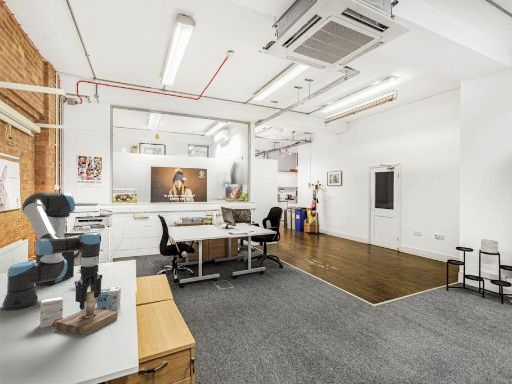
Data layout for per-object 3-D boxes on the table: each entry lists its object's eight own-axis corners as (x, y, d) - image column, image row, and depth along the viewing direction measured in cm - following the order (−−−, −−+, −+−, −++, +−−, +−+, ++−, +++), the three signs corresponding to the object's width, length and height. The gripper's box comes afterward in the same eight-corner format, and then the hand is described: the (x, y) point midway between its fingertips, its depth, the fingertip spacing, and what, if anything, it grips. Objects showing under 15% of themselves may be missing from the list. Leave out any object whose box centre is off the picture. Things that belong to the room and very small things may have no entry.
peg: (80, 321, 129) (81, 292, 130) (88, 318, 134) (89, 289, 134) (87, 323, 128) (88, 293, 128) (95, 319, 132) (96, 290, 132)
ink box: (62, 319, 134) (63, 296, 135) (62, 323, 130) (63, 299, 131) (40, 324, 130) (41, 299, 130) (39, 328, 126) (40, 302, 126)
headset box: (51, 286, 183) (52, 248, 184) (34, 285, 184) (35, 247, 184) (74, 276, 206) (75, 242, 206) (59, 276, 206) (60, 242, 207)
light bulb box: (95, 312, 144) (96, 292, 144) (99, 307, 150) (100, 288, 151) (117, 310, 147) (118, 290, 147) (120, 305, 153) (121, 286, 153)
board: (55, 329, 125) (55, 321, 125) (90, 313, 142) (90, 306, 142) (84, 336, 119) (85, 328, 120) (117, 318, 137) (117, 311, 137)
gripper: (78, 270, 122) (77, 322, 121) (110, 261, 139) (108, 307, 138) (66, 268, 124) (64, 319, 124) (99, 260, 141) (97, 305, 140)
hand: (88, 312), depth 131 cm, fingers closed on peg, 4 cm apart
